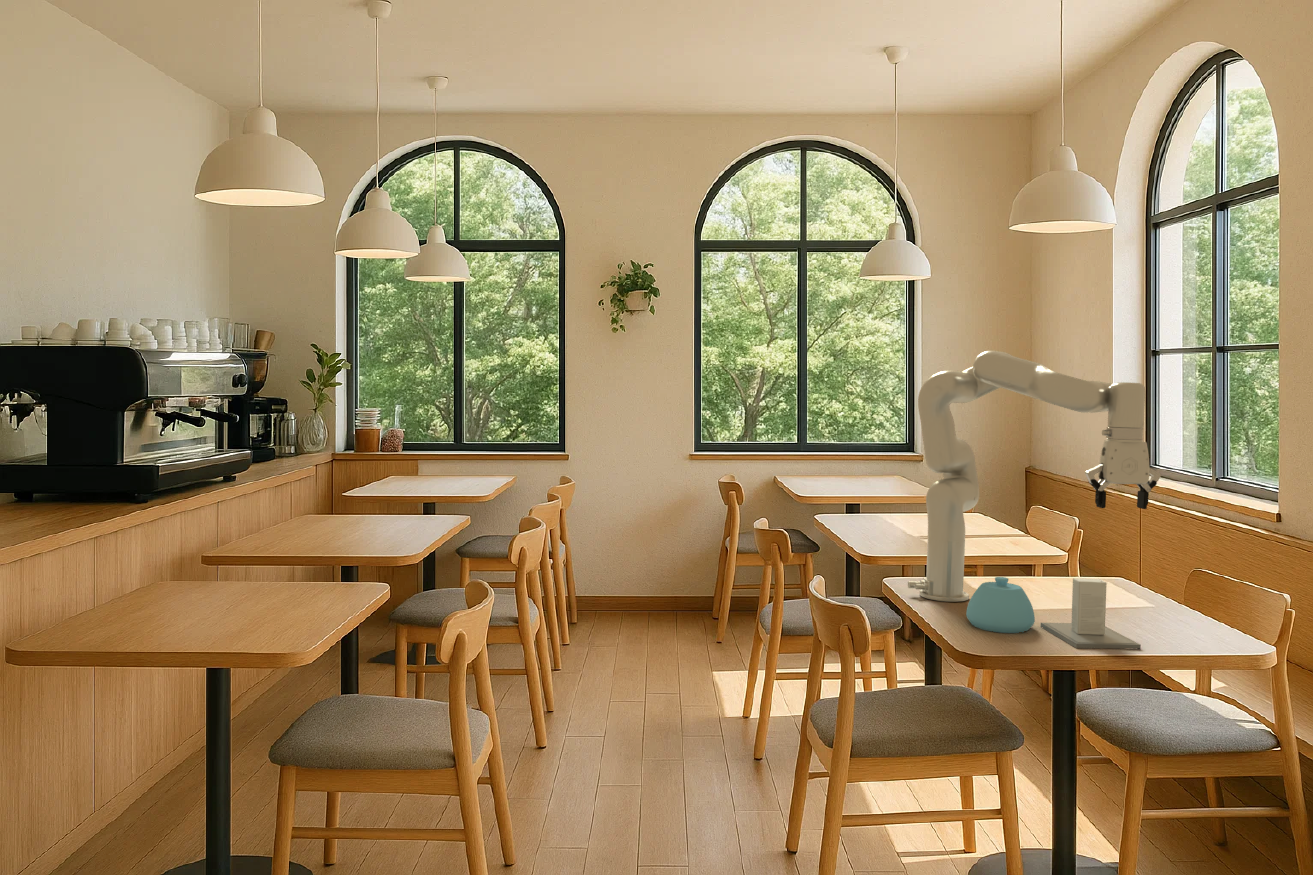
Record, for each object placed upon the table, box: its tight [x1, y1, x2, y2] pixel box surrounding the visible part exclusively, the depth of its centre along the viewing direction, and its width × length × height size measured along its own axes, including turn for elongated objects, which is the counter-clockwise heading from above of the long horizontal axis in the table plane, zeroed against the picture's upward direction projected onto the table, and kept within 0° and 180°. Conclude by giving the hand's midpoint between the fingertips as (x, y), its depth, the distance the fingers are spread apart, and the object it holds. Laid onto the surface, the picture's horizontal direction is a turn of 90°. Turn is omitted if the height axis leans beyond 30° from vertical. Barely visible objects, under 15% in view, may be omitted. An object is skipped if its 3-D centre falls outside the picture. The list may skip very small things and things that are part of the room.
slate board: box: [1040, 622, 1142, 649], centre depth 211 cm, size 14×18×1 cm
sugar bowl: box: [966, 576, 1036, 634], centre depth 220 cm, size 15×15×12 cm
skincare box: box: [1071, 577, 1108, 635], centre depth 211 cm, size 6×4×12 cm
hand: (1121, 507), depth 220 cm, fingers open, 9 cm apart
